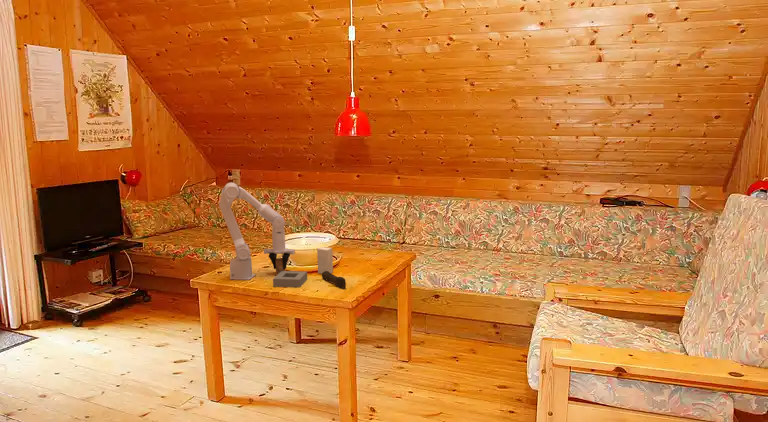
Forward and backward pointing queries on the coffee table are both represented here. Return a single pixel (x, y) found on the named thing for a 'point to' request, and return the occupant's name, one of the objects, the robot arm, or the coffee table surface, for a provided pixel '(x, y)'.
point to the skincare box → (325, 260)
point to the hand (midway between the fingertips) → (280, 268)
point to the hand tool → (334, 279)
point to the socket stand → (290, 279)
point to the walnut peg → (279, 265)
